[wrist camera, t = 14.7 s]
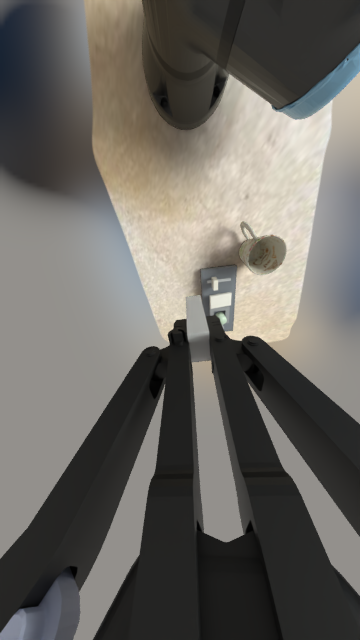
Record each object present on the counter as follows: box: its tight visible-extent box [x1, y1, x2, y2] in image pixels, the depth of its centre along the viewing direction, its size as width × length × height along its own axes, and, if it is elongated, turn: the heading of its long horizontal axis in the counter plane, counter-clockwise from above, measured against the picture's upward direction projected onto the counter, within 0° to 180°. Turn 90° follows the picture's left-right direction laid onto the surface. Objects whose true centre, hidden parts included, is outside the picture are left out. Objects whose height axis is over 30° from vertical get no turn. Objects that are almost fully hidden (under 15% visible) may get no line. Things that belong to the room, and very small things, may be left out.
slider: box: [212, 277, 218, 291], centre depth 43 cm, size 3×1×4 cm, turn 7°
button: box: [216, 312, 227, 325], centre depth 48 cm, size 3×3×3 cm
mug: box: [239, 222, 286, 275], centre depth 38 cm, size 8×13×10 cm, turn 40°
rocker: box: [210, 292, 232, 309], centre depth 46 cm, size 4×6×1 cm, turn 97°
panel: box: [200, 265, 237, 331], centre depth 49 cm, size 22×10×4 cm, turn 7°
